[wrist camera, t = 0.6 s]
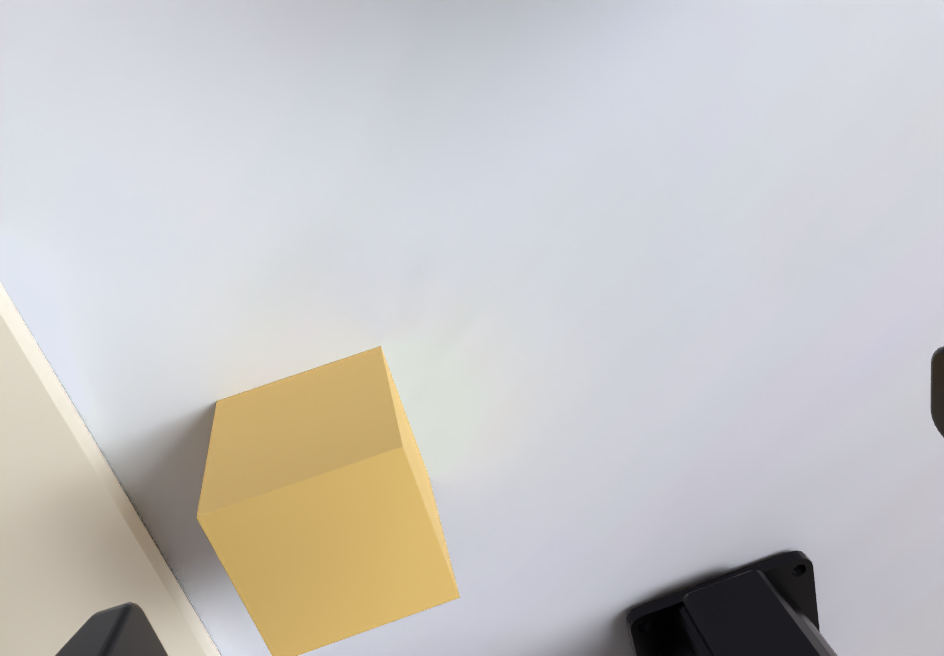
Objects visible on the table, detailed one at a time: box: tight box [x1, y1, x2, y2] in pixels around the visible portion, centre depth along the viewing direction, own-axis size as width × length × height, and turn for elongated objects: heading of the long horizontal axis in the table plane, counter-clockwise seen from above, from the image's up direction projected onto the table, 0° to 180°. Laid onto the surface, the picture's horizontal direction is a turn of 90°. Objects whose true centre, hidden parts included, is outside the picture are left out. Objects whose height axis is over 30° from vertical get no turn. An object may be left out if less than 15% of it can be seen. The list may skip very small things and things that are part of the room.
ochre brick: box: [196, 346, 460, 656], centre depth 20 cm, size 4×4×5 cm
